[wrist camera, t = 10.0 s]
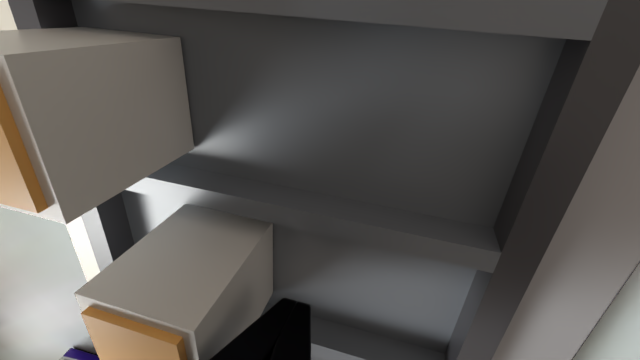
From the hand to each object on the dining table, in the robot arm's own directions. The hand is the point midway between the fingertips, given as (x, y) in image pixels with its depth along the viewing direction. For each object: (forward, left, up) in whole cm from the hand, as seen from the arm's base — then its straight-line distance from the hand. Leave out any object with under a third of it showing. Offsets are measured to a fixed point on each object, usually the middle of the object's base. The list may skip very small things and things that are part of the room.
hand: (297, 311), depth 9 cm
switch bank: (+1, 0, -3) cm, 4 cm away
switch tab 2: (+3, 0, -2) cm, 3 cm away
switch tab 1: (+5, -5, -2) cm, 8 cm away
